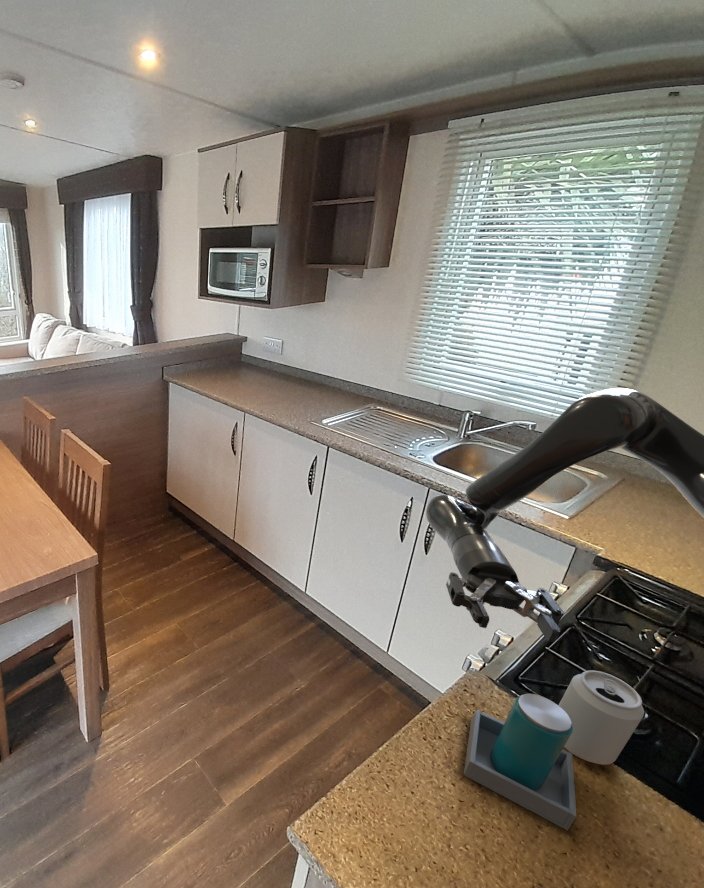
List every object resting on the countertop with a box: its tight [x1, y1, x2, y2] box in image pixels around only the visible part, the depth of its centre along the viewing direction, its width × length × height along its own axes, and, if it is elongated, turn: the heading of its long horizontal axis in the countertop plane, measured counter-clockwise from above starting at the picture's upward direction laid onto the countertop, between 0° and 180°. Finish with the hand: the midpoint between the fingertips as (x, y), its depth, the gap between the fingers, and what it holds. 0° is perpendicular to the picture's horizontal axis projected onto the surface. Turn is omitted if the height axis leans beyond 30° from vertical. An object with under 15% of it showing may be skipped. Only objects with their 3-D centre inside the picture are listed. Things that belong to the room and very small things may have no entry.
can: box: [557, 669, 645, 766], centre depth 70 cm, size 8×8×12 cm
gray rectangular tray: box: [463, 709, 577, 831], centre depth 68 cm, size 11×10×3 cm
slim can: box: [490, 693, 573, 791], centre depth 66 cm, size 6×6×12 cm
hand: (518, 630), depth 72 cm, fingers open, 8 cm apart
